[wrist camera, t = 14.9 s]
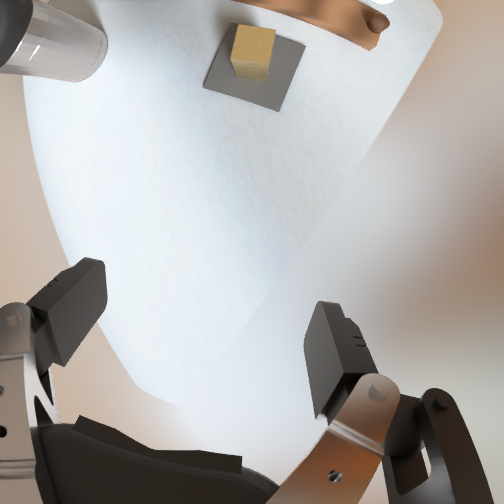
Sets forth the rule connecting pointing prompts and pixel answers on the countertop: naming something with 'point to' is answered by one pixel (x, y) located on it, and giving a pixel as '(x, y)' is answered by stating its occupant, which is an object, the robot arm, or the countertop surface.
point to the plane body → (333, 17)
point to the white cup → (382, 1)
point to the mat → (252, 90)
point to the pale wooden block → (252, 52)
